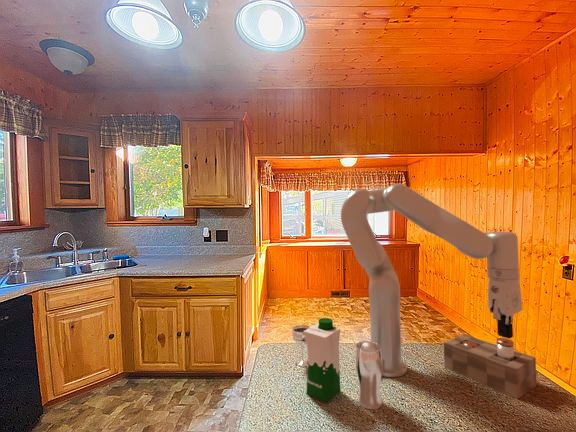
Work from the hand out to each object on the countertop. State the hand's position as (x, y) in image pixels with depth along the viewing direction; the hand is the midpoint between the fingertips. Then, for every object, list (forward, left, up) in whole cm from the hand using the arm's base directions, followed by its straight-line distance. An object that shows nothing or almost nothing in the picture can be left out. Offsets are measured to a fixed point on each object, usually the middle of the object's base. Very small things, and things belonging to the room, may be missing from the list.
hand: (505, 336), depth 84 cm
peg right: (0, 0, -9) cm, 9 cm away
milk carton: (-48, +25, -14) cm, 56 cm away
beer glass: (-40, +15, -14) cm, 45 cm away
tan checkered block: (0, +5, -14) cm, 15 cm away
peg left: (0, +10, -14) cm, 17 cm away
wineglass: (-44, +42, -14) cm, 63 cm away
